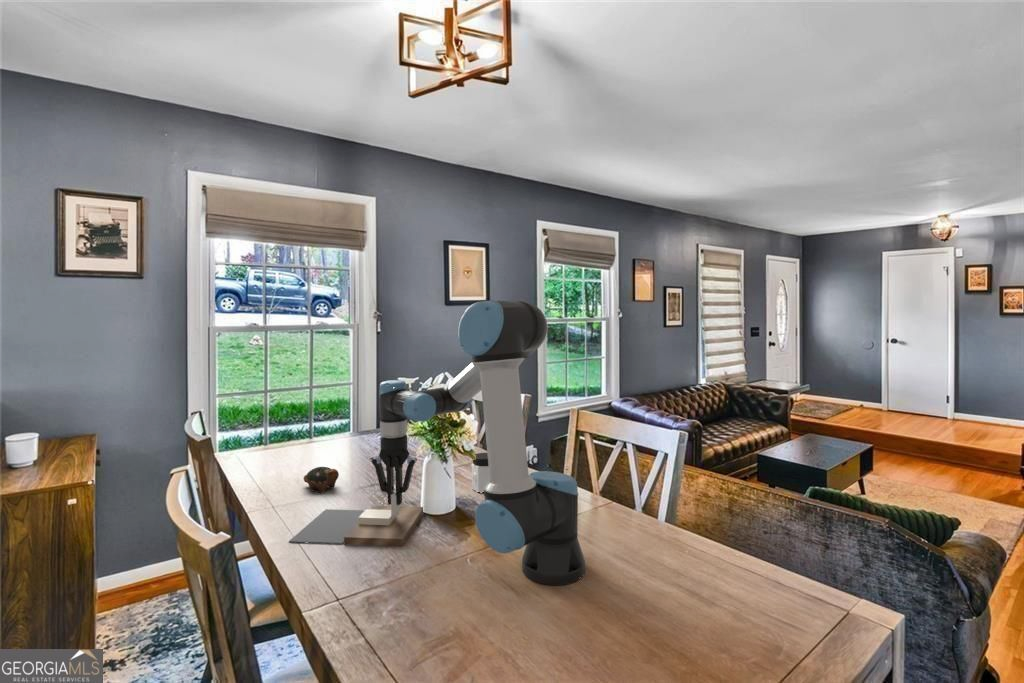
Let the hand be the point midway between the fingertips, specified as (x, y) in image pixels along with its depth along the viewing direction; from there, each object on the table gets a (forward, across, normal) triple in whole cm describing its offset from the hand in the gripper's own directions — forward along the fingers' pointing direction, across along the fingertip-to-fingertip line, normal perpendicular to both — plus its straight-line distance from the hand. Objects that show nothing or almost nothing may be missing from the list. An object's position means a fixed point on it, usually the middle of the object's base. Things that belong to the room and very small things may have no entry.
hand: (395, 515), depth 143 cm
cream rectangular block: (+2, +5, 0) cm, 5 cm away
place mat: (+4, +18, 0) cm, 19 cm away
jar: (+4, -21, -33) cm, 39 cm away
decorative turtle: (+4, +37, -30) cm, 47 cm away
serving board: (+4, +2, 0) cm, 4 cm away
